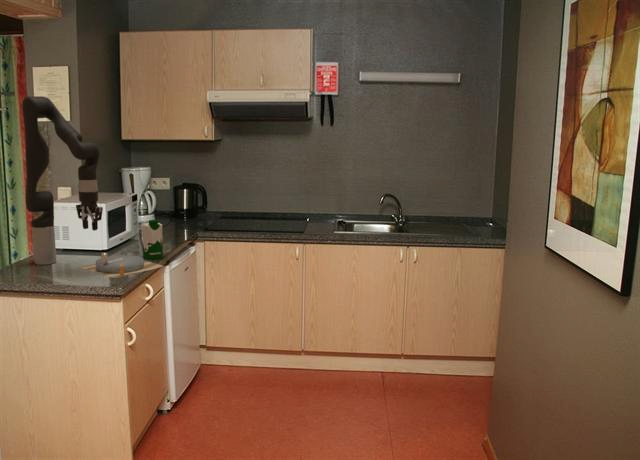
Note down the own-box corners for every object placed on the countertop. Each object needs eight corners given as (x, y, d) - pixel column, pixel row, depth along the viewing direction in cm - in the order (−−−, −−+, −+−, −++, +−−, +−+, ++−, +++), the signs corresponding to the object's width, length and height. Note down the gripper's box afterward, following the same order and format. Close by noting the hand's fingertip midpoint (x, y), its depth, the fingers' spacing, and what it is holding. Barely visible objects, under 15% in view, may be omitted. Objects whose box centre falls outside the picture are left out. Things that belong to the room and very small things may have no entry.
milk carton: (147, 263, 254) (145, 222, 251) (140, 259, 261) (139, 219, 258) (165, 261, 260) (164, 220, 256) (158, 257, 267) (157, 217, 263)
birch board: (79, 270, 240) (79, 258, 239) (130, 259, 261) (130, 248, 260) (113, 281, 225) (113, 268, 224) (165, 269, 246) (165, 257, 245)
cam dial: (121, 259, 255) (120, 242, 253) (153, 265, 246) (152, 248, 244) (85, 268, 237) (84, 251, 236) (119, 275, 228) (118, 257, 227)
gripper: (68, 189, 230) (71, 229, 234) (93, 192, 224) (95, 232, 228) (83, 188, 237) (85, 226, 240) (107, 190, 231) (109, 229, 234)
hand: (90, 229), depth 234 cm, fingers open, 5 cm apart
